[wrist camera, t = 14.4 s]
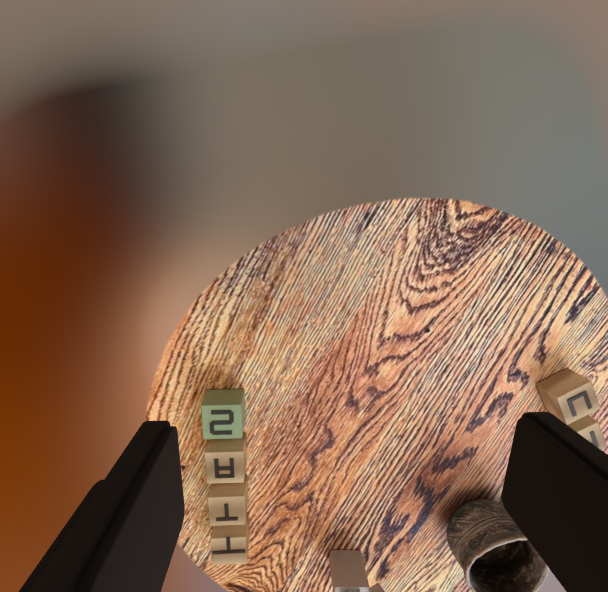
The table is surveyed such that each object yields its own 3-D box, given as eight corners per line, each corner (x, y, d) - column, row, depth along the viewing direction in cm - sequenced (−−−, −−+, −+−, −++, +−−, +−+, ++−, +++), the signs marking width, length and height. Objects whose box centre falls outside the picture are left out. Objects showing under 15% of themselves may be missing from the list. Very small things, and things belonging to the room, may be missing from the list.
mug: (501, 474, 40) (571, 557, 30) (519, 542, 43) (587, 638, 33) (429, 500, 40) (475, 590, 31) (452, 566, 43) (501, 667, 34)
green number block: (207, 389, 34) (200, 406, 31) (244, 388, 35) (240, 405, 32) (209, 421, 35) (202, 440, 32) (245, 420, 36) (242, 439, 33)
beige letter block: (215, 513, 39) (210, 538, 36) (248, 511, 39) (245, 536, 36) (217, 539, 40) (212, 566, 37) (249, 538, 40) (246, 564, 37)
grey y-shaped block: (328, 559, 42) (339, 638, 34) (330, 549, 41) (341, 627, 34) (380, 560, 42) (402, 637, 35) (382, 550, 42) (405, 626, 34)
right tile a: (210, 433, 36) (203, 453, 33) (246, 432, 36) (242, 452, 33) (212, 462, 37) (206, 484, 34) (247, 461, 37) (243, 483, 34)
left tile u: (535, 383, 37) (557, 398, 34) (567, 367, 37) (592, 381, 34) (545, 409, 38) (568, 426, 35) (576, 393, 38) (602, 409, 35)
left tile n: (543, 421, 38) (566, 438, 35) (574, 405, 38) (599, 422, 35) (553, 444, 39) (575, 463, 36) (583, 430, 39) (608, 448, 36)
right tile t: (213, 475, 37) (207, 498, 34) (247, 474, 38) (244, 496, 35) (215, 502, 38) (209, 527, 35) (248, 501, 39) (245, 525, 36)
